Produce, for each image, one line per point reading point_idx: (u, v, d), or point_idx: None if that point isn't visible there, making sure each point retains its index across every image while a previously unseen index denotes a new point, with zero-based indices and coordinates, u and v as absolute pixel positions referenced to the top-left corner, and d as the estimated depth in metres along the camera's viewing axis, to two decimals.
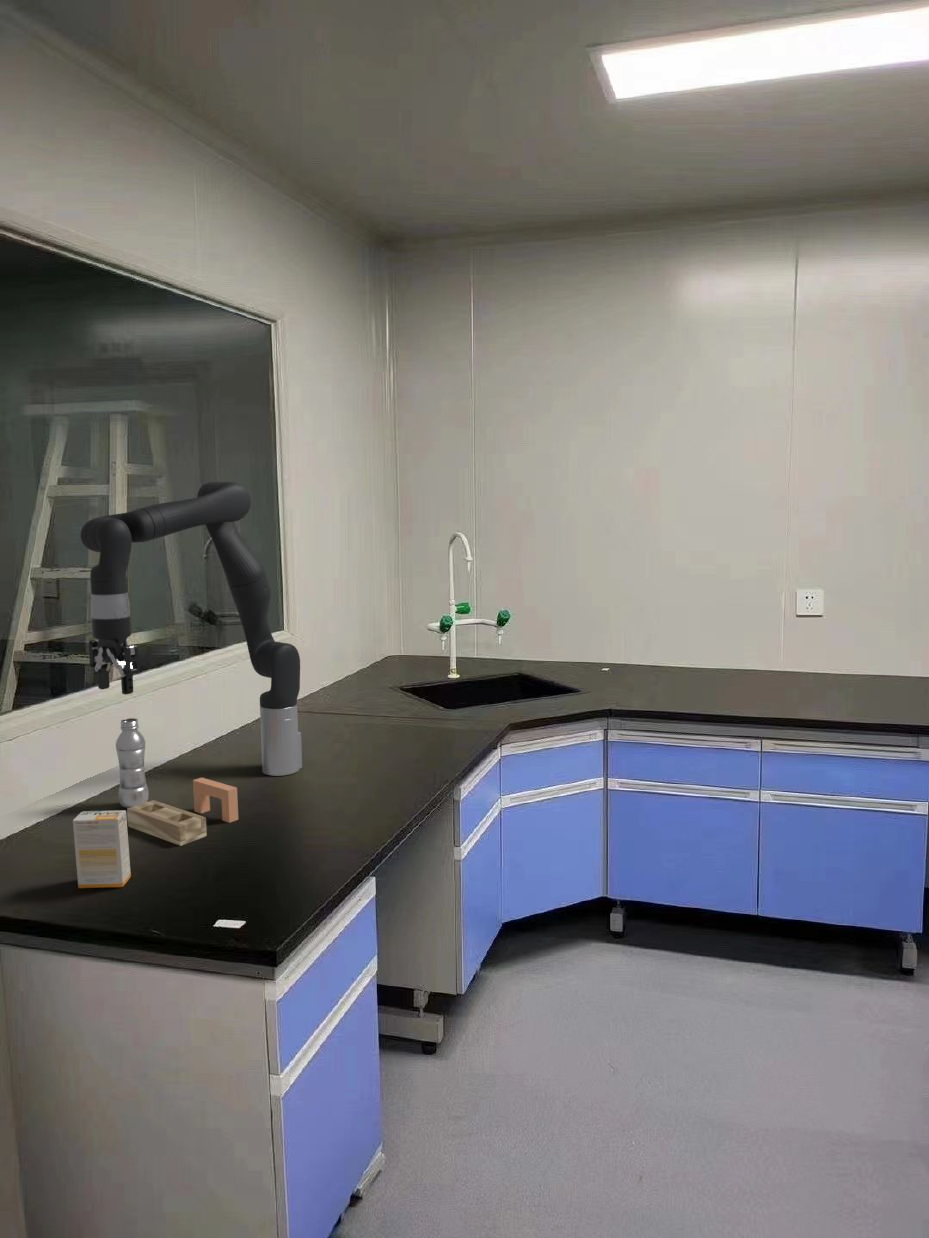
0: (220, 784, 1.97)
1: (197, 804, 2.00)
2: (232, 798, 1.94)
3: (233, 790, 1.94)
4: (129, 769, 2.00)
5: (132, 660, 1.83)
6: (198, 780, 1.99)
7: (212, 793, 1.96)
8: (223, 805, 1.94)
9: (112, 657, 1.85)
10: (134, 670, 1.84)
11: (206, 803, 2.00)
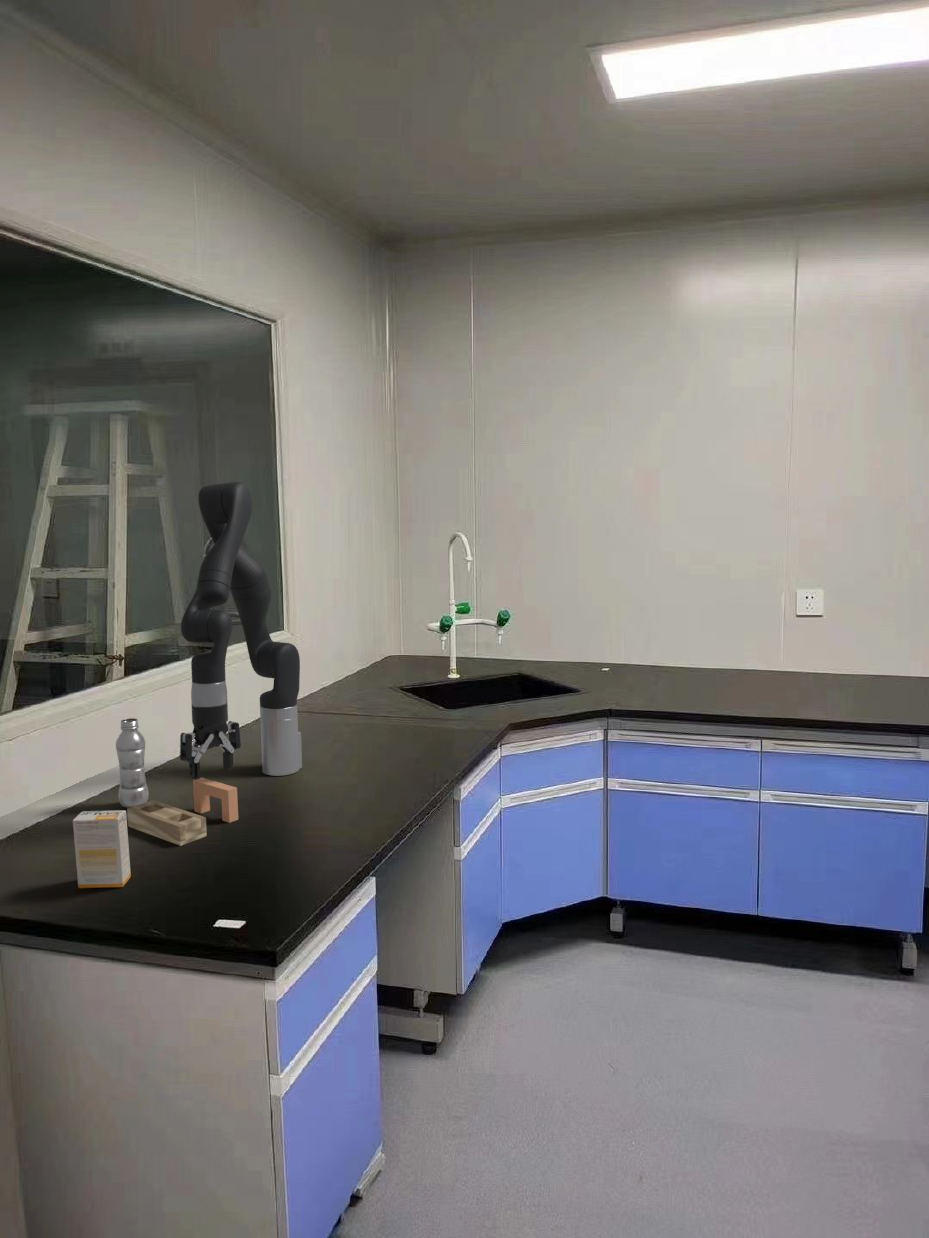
0: (220, 784, 1.97)
1: (197, 804, 2.00)
2: (232, 798, 1.94)
3: (233, 790, 1.94)
4: (129, 769, 2.00)
5: None
6: (198, 780, 1.99)
7: (212, 793, 1.96)
8: (223, 805, 1.94)
9: (224, 738, 1.96)
10: None
11: (206, 803, 2.00)
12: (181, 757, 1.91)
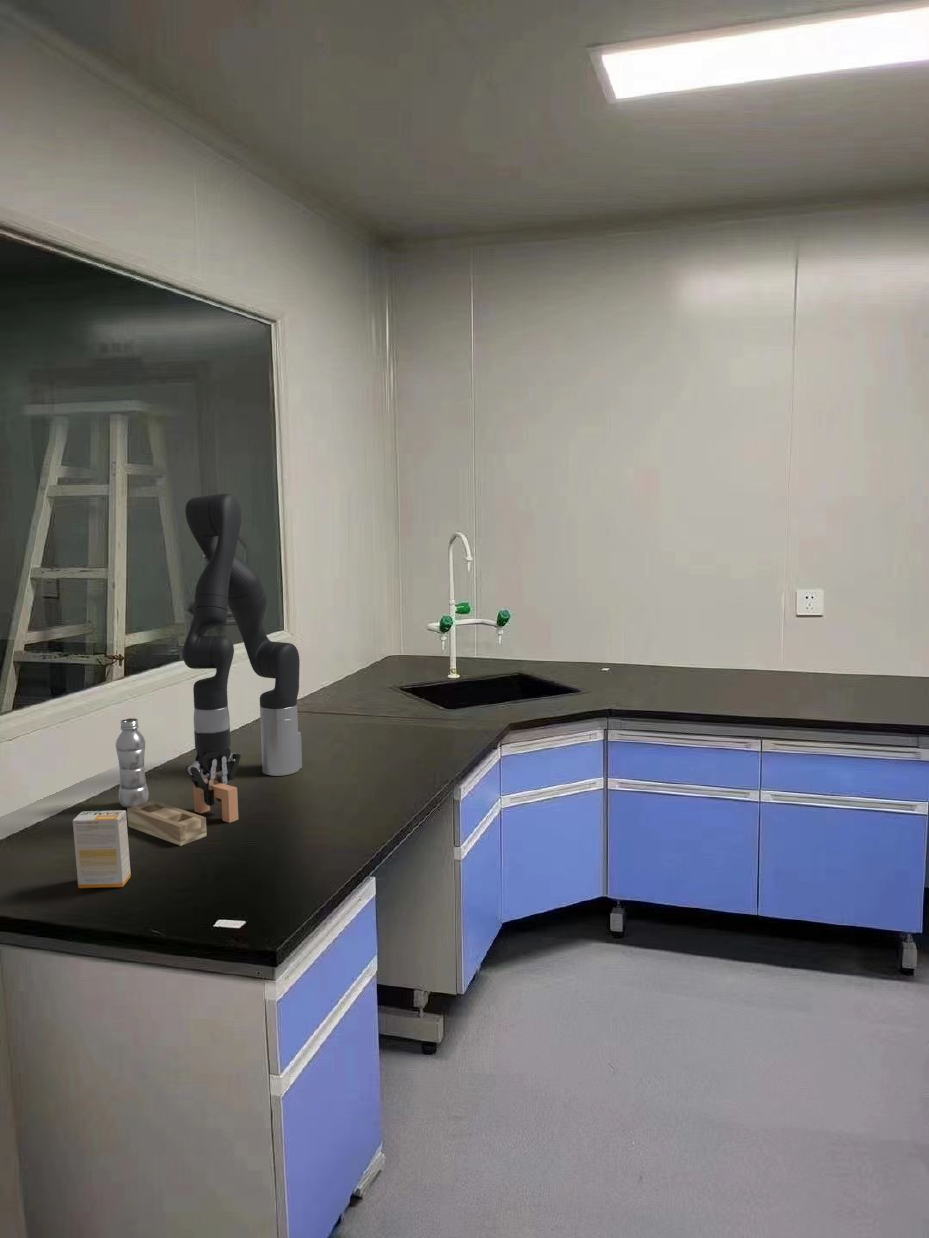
0: (220, 784, 1.97)
1: (197, 804, 2.00)
2: (232, 798, 1.94)
3: (233, 790, 1.94)
4: (129, 769, 2.00)
5: None
6: None
7: None
8: (223, 805, 1.94)
9: (224, 765, 1.97)
10: None
11: None
12: (196, 786, 1.94)
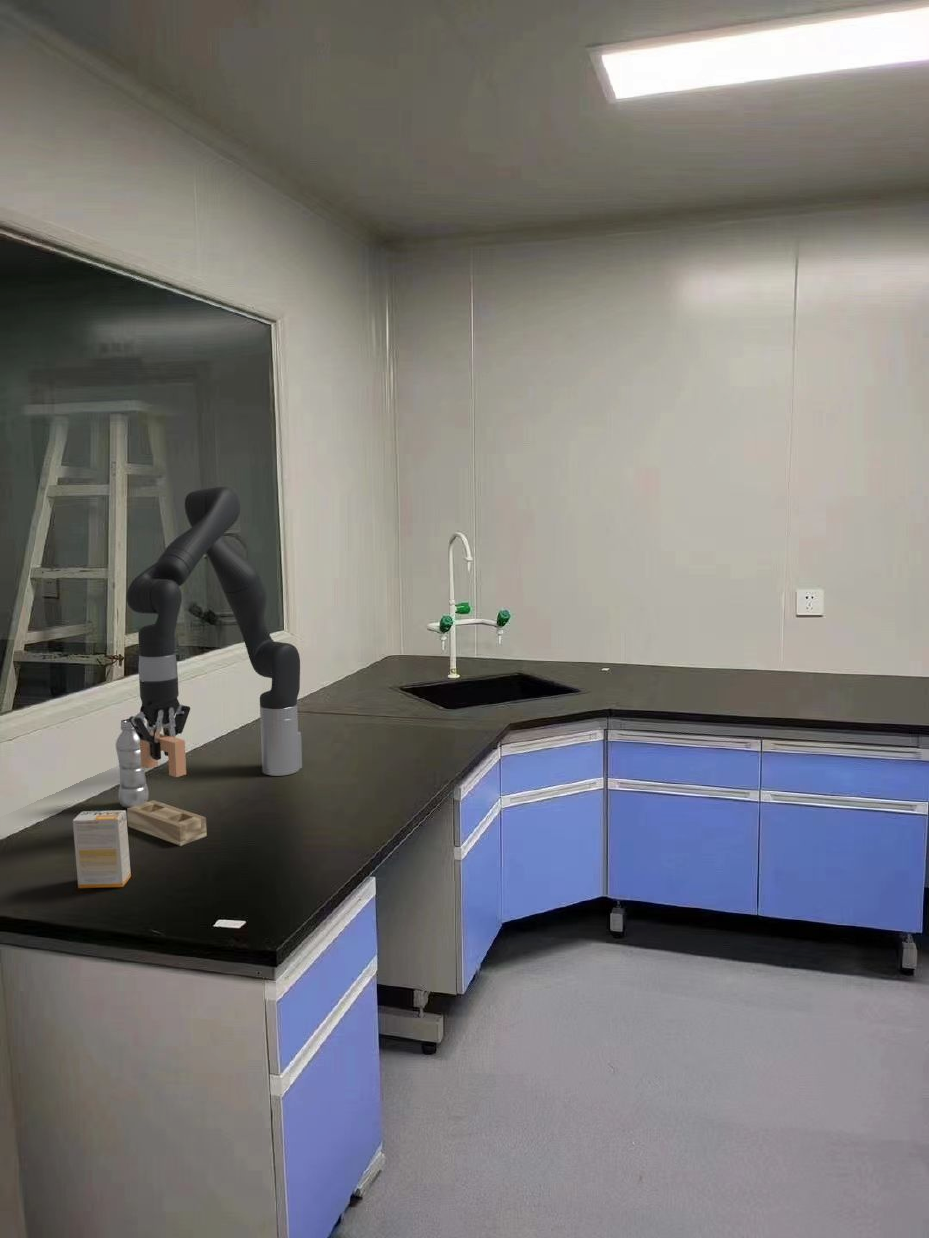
0: (167, 737, 1.86)
1: (144, 759, 1.89)
2: (179, 751, 1.83)
3: (180, 743, 1.83)
4: (129, 769, 2.00)
5: None
6: None
7: None
8: (170, 758, 1.83)
9: (171, 717, 1.86)
10: None
11: None
12: (141, 739, 1.83)
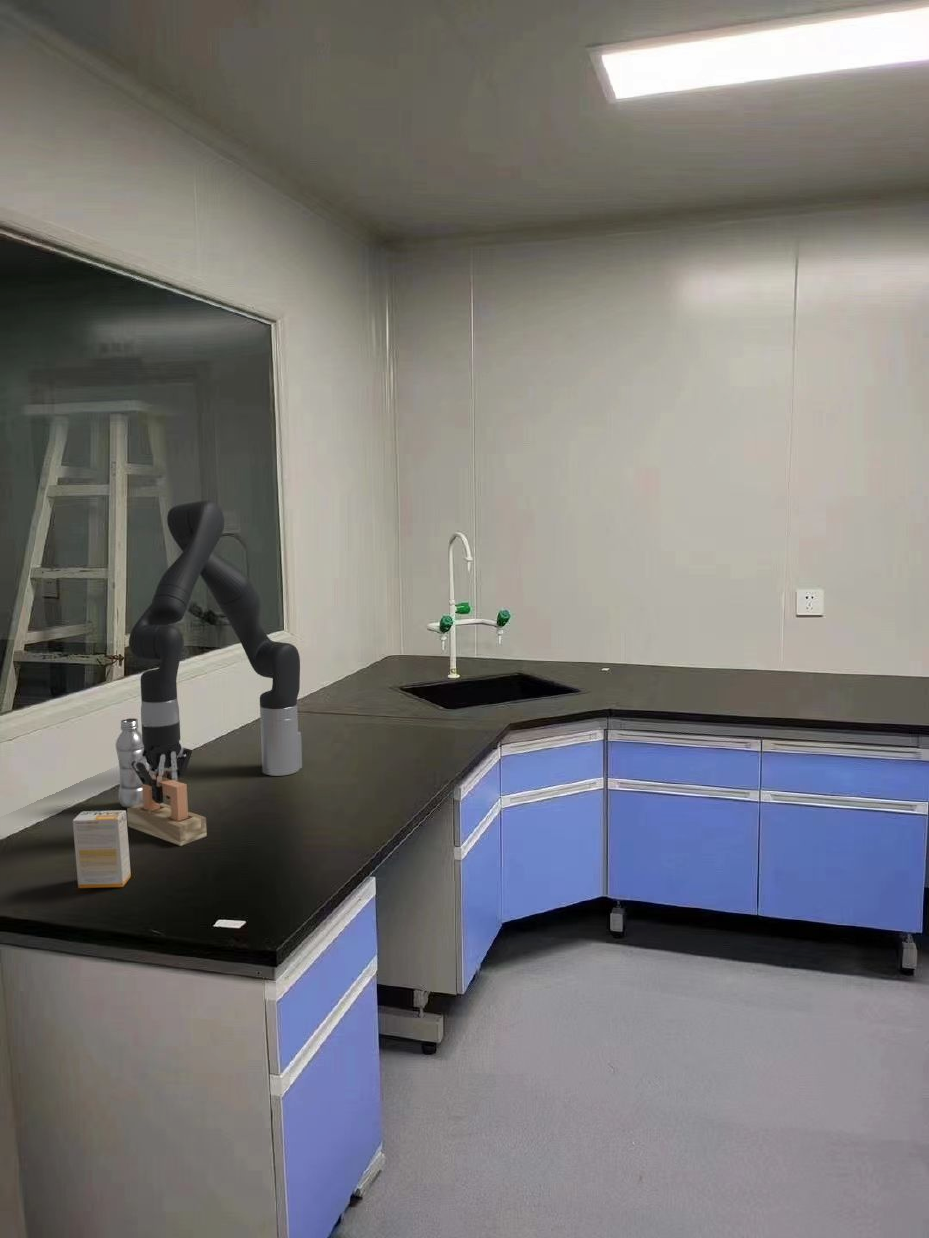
0: (169, 781, 1.87)
1: (146, 802, 1.90)
2: (181, 795, 1.84)
3: (182, 787, 1.84)
4: (129, 769, 2.00)
5: None
6: None
7: None
8: (172, 803, 1.84)
9: (173, 761, 1.87)
10: None
11: None
12: (143, 783, 1.84)
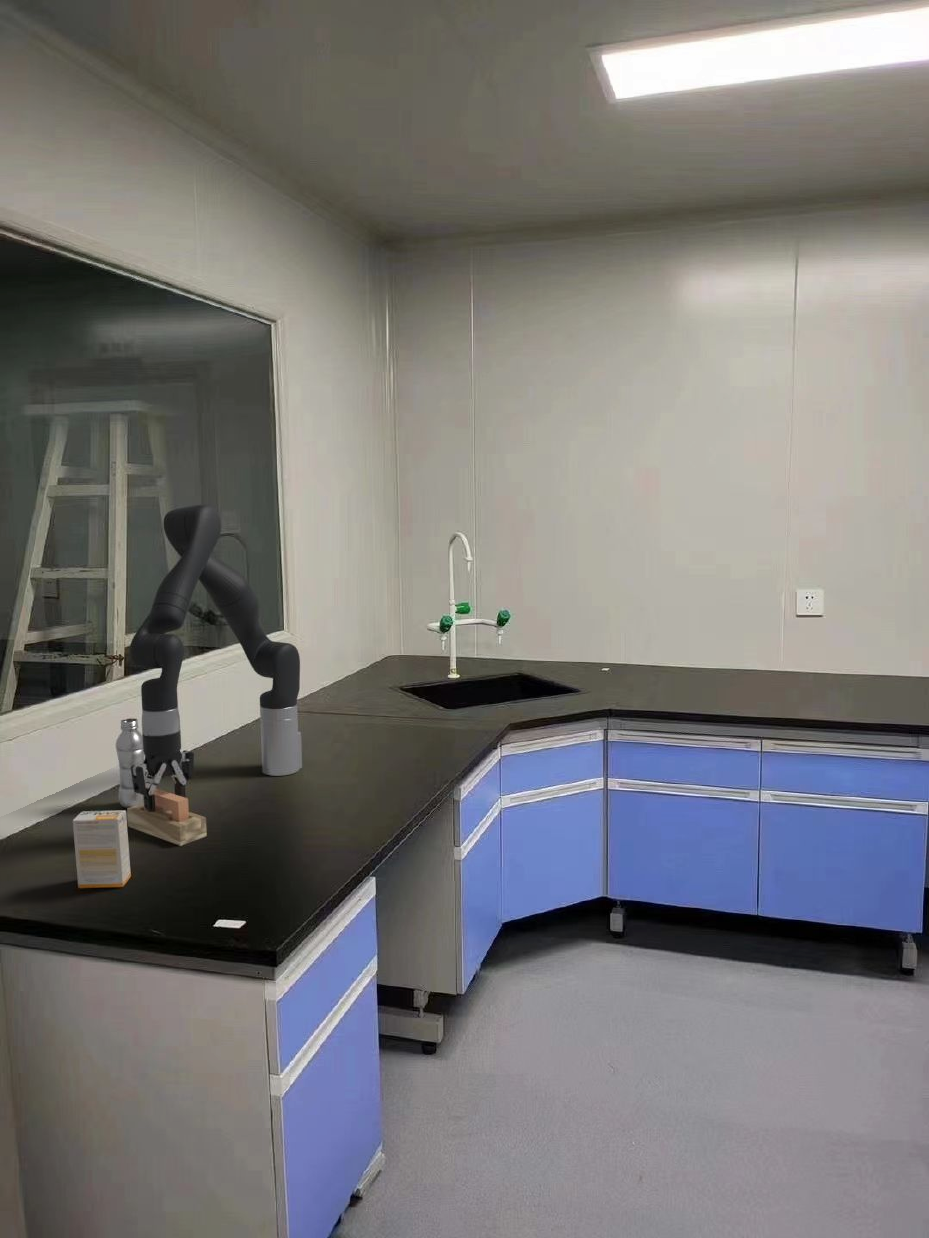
0: (171, 795, 1.87)
1: None
2: (182, 809, 1.85)
3: (184, 801, 1.85)
4: (129, 769, 2.00)
5: None
6: None
7: (162, 804, 1.87)
8: (173, 817, 1.85)
9: (177, 768, 1.88)
10: None
11: None
12: (135, 790, 1.83)
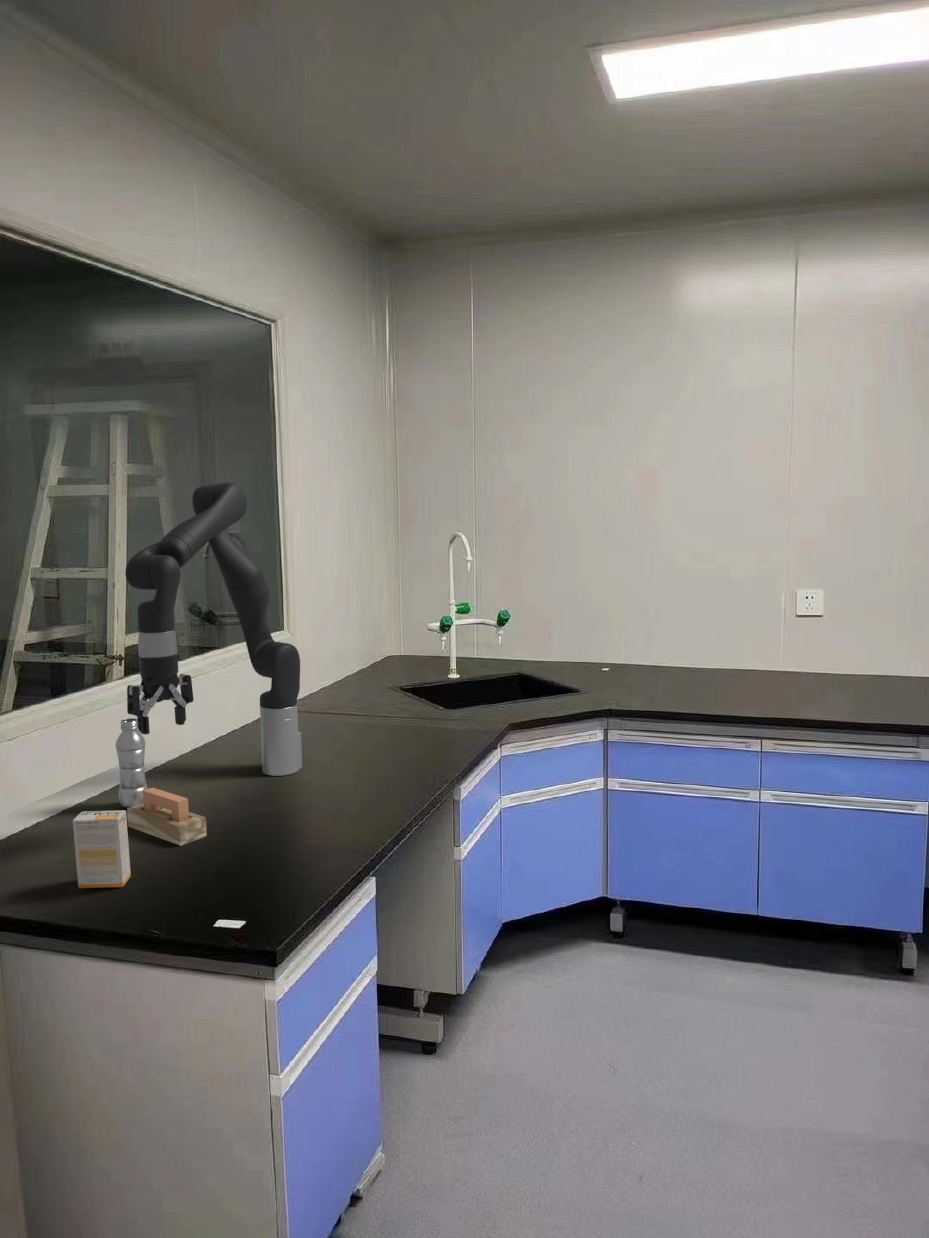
0: (171, 795, 1.87)
1: None
2: (182, 809, 1.85)
3: (184, 801, 1.85)
4: (129, 769, 2.00)
5: None
6: (148, 790, 1.90)
7: (162, 804, 1.87)
8: (173, 817, 1.85)
9: (175, 691, 1.86)
10: None
11: None
12: (128, 711, 1.80)
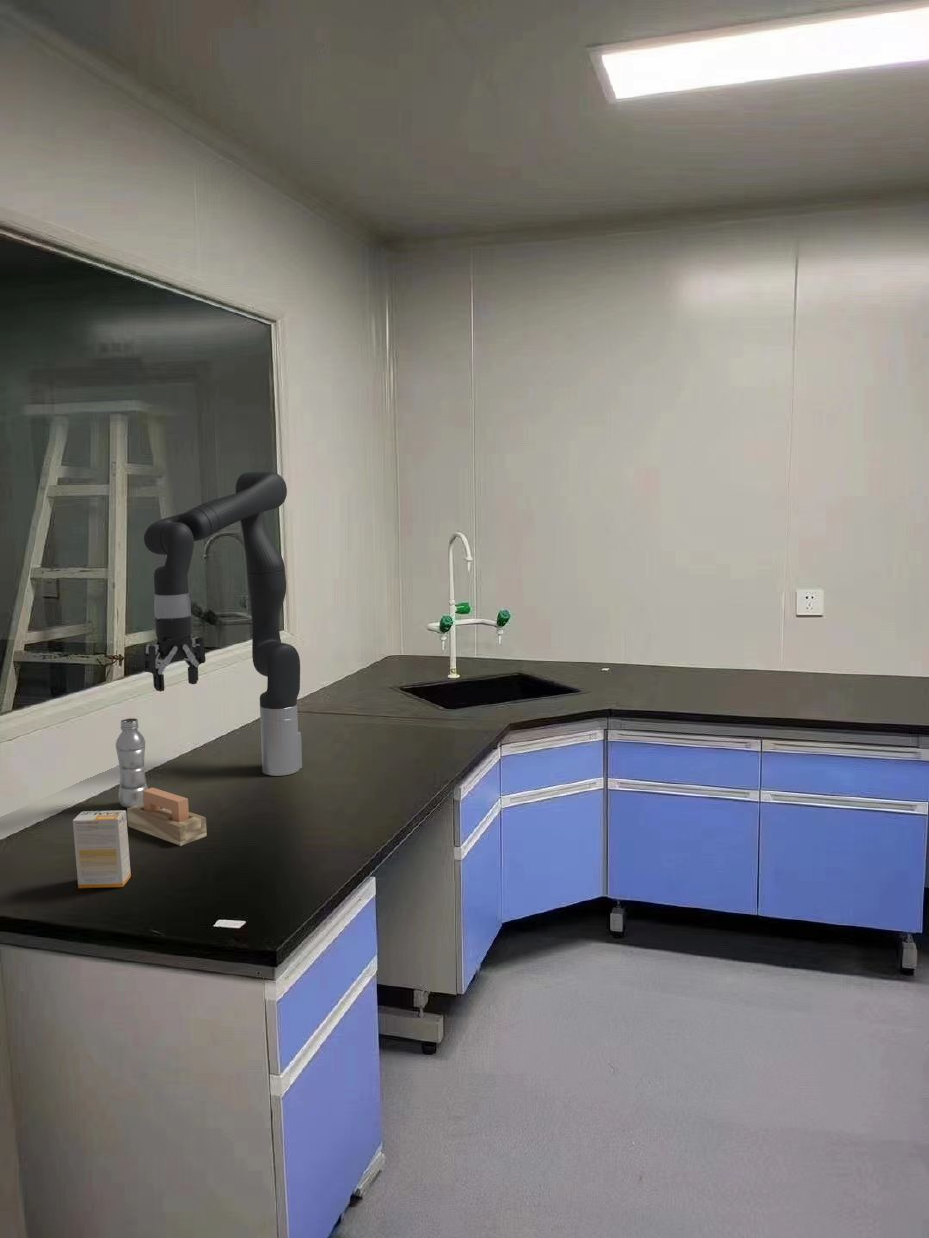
0: (171, 795, 1.87)
1: None
2: (182, 809, 1.85)
3: (184, 801, 1.85)
4: (129, 769, 2.00)
5: None
6: (148, 790, 1.90)
7: (162, 804, 1.87)
8: (173, 817, 1.85)
9: (188, 651, 1.97)
10: None
11: None
12: (145, 669, 1.92)
